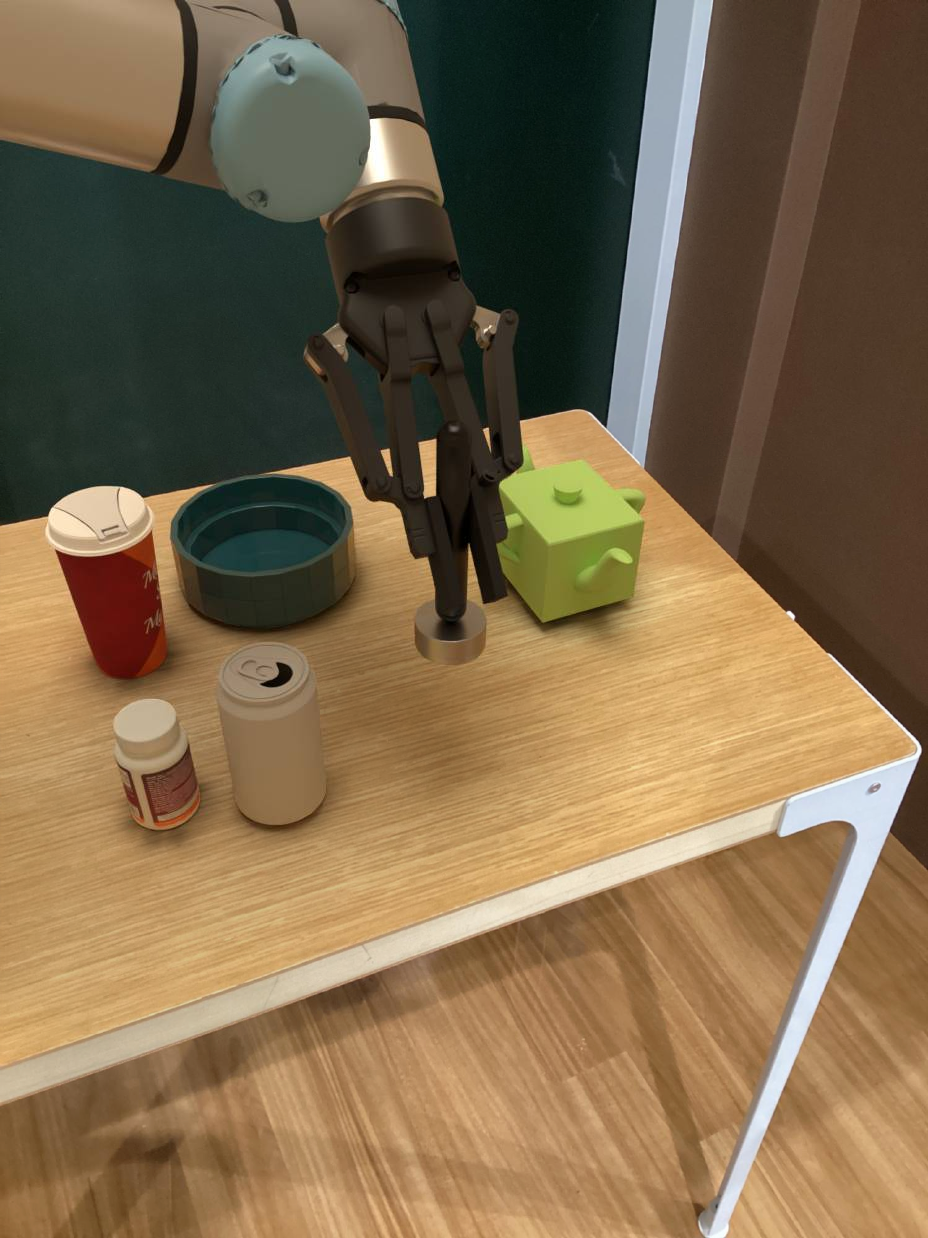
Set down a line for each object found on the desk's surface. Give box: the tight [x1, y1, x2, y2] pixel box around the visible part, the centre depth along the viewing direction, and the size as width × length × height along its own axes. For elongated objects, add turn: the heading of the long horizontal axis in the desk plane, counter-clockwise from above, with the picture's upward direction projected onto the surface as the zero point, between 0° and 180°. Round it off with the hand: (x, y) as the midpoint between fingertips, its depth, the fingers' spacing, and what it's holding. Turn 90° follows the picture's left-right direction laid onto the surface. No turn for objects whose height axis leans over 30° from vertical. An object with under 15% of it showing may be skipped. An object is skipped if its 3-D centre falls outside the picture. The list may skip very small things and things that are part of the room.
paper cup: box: [44, 485, 168, 680], centre depth 81 cm, size 8×8×14 cm
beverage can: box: [214, 641, 328, 826], centre depth 71 cm, size 6×6×12 cm
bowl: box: [169, 472, 357, 629], centre depth 92 cm, size 15×15×6 cm
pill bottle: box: [112, 698, 201, 831], centre depth 71 cm, size 5×5×8 cm
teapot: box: [496, 442, 646, 623], centre depth 91 cm, size 15×13×11 cm
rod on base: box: [413, 420, 488, 666], centre depth 64 cm, size 5×5×16 cm
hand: (474, 604), depth 62 cm, fingers closed on rod on base, 2 cm apart
